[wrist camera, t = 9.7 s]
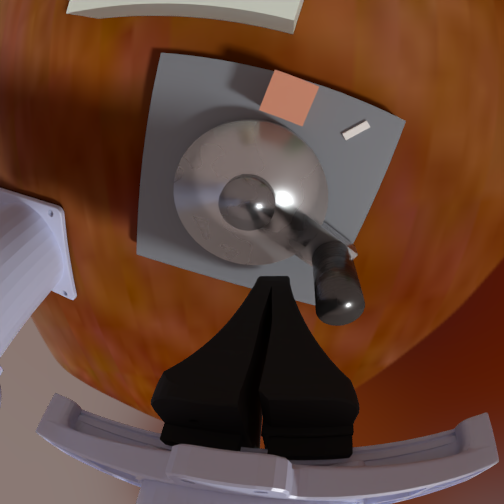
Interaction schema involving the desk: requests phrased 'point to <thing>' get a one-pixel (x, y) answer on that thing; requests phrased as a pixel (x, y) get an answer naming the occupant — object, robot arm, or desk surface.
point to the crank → (267, 208)
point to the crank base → (264, 108)
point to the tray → (198, 10)
